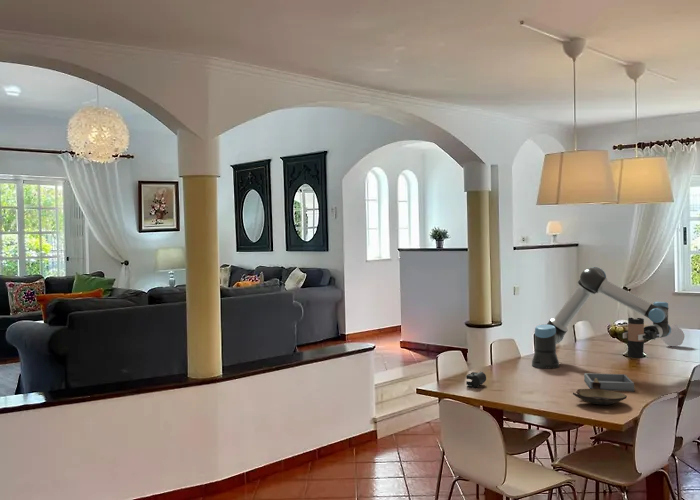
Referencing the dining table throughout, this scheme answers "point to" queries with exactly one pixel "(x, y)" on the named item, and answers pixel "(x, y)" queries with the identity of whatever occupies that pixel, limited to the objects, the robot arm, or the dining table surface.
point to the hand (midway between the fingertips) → (631, 336)
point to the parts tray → (610, 381)
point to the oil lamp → (599, 395)
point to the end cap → (475, 379)
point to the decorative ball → (674, 336)
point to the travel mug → (635, 337)
